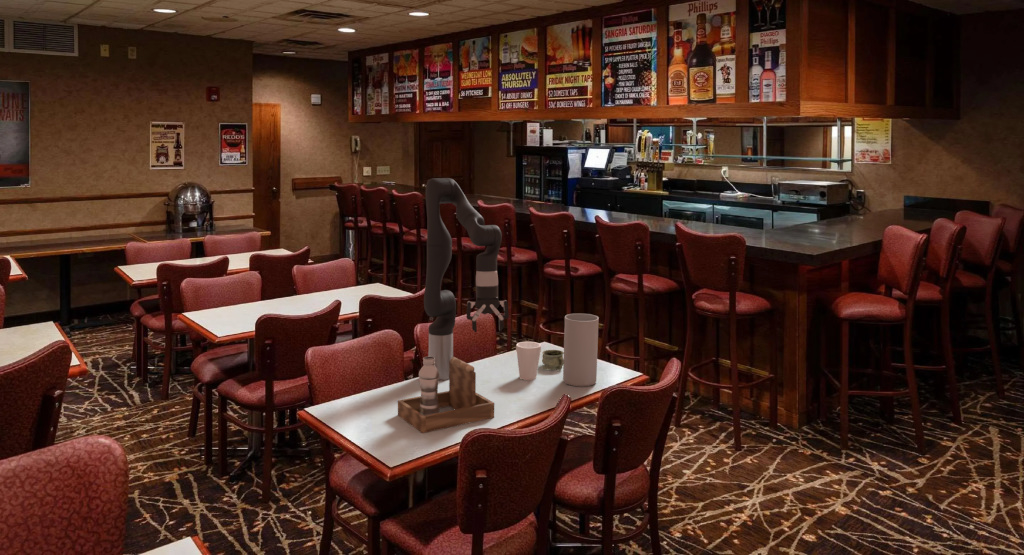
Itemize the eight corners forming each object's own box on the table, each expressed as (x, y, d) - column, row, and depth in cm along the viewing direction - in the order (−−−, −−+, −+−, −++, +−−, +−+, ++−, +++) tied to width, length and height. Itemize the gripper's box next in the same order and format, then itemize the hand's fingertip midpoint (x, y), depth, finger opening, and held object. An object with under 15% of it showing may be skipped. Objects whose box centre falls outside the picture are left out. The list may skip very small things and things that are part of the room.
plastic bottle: (436, 421, 241) (436, 361, 237) (416, 419, 242) (415, 360, 239) (442, 414, 247) (442, 356, 244) (422, 412, 248) (422, 354, 245)
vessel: (571, 369, 299) (571, 353, 298) (555, 373, 293) (555, 357, 292) (550, 362, 308) (550, 347, 307) (534, 366, 302) (534, 351, 301)
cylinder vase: (562, 376, 289) (564, 313, 285) (594, 377, 289) (597, 313, 284) (563, 386, 277) (565, 320, 272) (597, 387, 277) (600, 321, 272)
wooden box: (397, 415, 246) (397, 363, 243) (467, 401, 260) (467, 351, 257) (422, 433, 231) (421, 378, 228) (494, 417, 245) (494, 365, 242)
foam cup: (512, 379, 284) (512, 346, 282) (520, 372, 293) (520, 340, 290) (535, 382, 281) (536, 349, 279) (543, 375, 290) (544, 343, 287)
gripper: (506, 282, 259) (507, 328, 261) (465, 283, 257) (466, 330, 259) (509, 284, 252) (509, 332, 253) (466, 285, 250) (467, 333, 252)
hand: (487, 331), depth 256 cm, fingers open, 8 cm apart
